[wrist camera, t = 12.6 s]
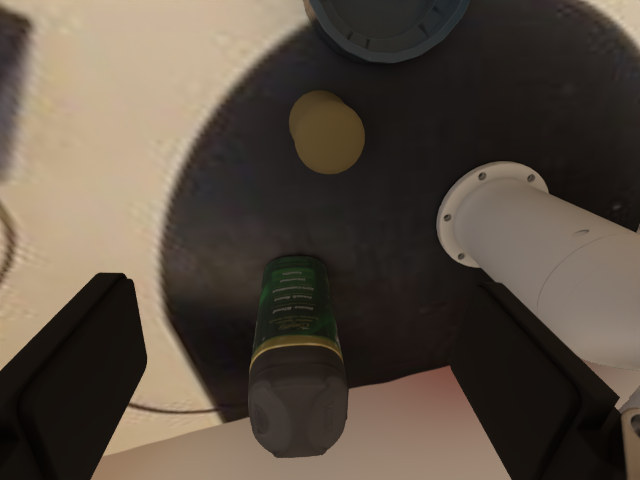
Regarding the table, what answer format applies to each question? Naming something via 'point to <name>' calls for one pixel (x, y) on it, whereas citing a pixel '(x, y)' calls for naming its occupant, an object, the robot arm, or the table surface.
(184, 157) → the table surface
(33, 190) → the table surface
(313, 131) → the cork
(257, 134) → the table surface
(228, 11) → the table surface
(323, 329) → the coffee jar
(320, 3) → the bowl
